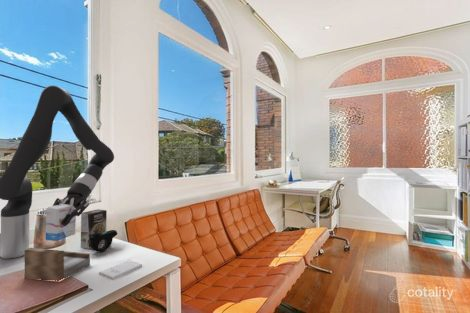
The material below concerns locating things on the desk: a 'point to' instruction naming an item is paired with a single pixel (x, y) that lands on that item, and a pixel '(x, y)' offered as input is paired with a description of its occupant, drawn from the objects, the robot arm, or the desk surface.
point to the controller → (97, 237)
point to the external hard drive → (120, 269)
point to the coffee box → (92, 225)
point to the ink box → (58, 223)
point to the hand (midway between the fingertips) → (57, 224)
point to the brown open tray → (53, 263)
